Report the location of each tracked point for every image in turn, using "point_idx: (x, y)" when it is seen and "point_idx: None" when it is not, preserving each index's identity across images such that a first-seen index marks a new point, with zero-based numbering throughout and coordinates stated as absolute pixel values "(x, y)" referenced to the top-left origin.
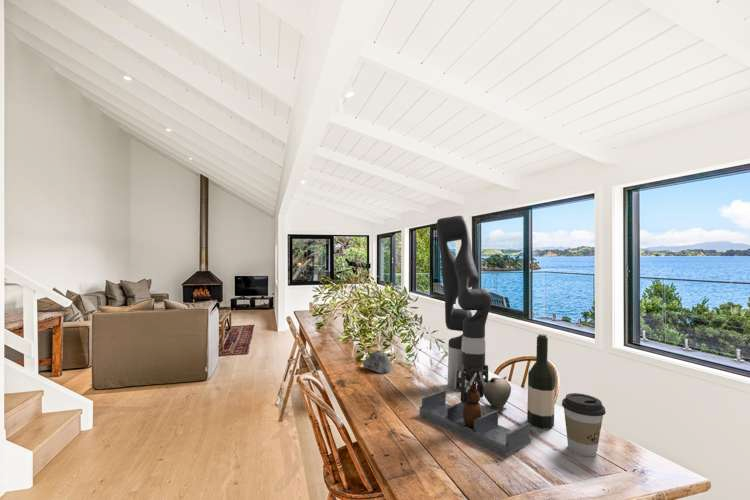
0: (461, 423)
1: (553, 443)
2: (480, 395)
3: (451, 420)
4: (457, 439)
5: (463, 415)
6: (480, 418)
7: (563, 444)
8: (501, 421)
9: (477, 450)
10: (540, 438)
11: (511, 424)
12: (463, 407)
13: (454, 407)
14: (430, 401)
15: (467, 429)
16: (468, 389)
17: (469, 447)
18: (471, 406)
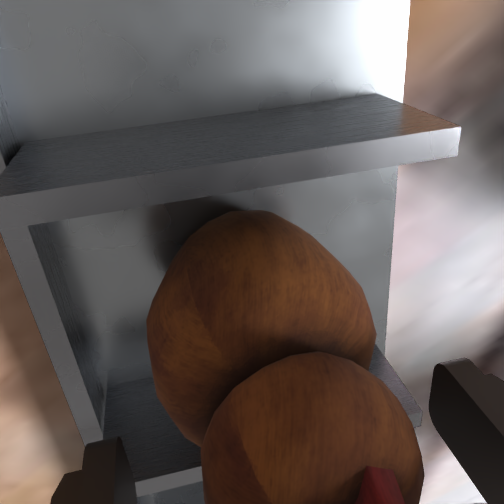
0: (171, 211)
1: (433, 485)
2: (443, 416)
3: (25, 245)
4: (2, 324)
5: (161, 290)
6: (172, 486)
7: (454, 497)
8: (484, 256)
9: (45, 449)
10: (438, 447)
11: (486, 308)
12: (184, 315)
13: (137, 201)
14: None
15: (68, 395)
16: (316, 501)
17: (18, 416)
18: (197, 443)
